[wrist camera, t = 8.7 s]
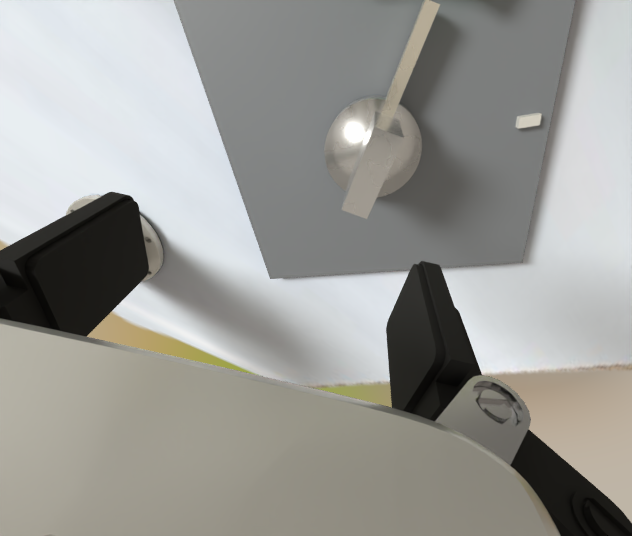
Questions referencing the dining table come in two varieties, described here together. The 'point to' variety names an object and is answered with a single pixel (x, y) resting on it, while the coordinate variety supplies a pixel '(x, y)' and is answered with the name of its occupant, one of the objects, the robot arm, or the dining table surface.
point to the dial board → (418, 97)
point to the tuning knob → (378, 134)
